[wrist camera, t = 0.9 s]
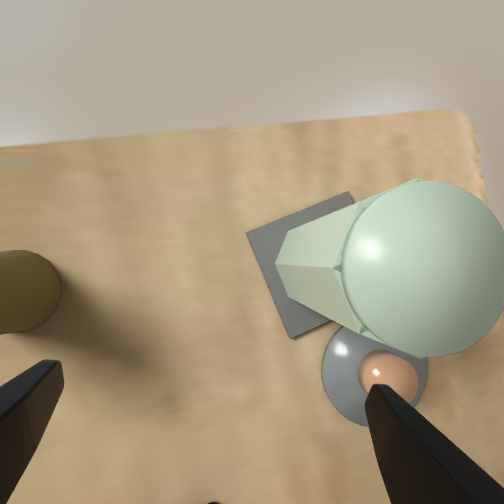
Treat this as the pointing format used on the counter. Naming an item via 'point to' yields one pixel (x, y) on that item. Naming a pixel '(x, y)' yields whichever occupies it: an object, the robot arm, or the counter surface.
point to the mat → (266, 251)
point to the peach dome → (388, 373)
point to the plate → (346, 372)
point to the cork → (26, 290)
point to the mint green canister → (403, 267)
